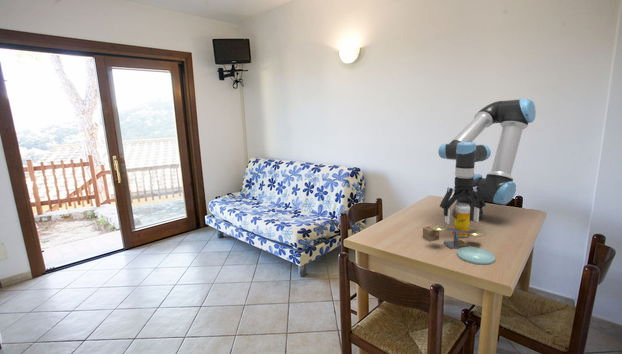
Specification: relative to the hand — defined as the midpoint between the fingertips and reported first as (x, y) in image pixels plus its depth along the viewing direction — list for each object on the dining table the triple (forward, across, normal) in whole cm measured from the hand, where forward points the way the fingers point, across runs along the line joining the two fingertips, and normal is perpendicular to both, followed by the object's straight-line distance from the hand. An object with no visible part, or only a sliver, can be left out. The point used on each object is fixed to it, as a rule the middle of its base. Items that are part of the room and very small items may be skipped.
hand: (461, 221), depth 135 cm
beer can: (+7, 0, 0) cm, 7 cm away
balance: (+7, +8, +10) cm, 14 cm away
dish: (+7, +6, +21) cm, 23 cm away
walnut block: (+7, +14, +1) cm, 16 cm away
